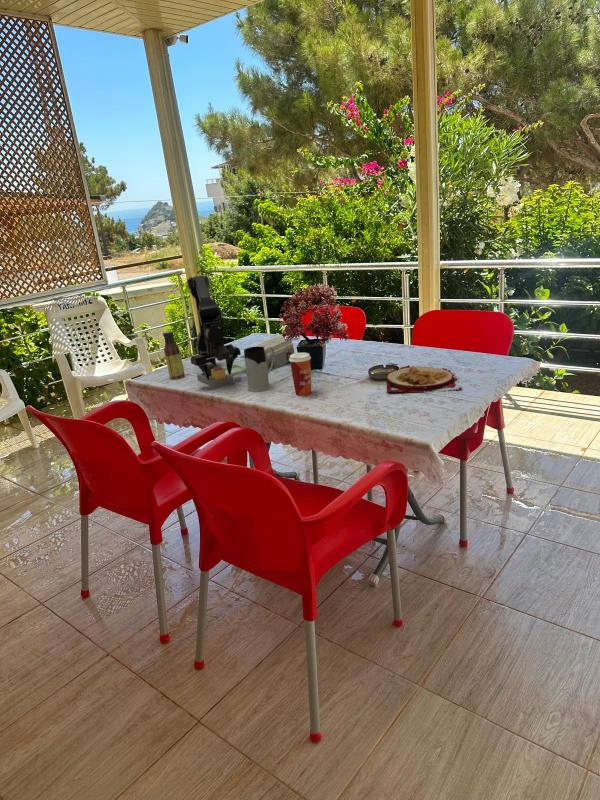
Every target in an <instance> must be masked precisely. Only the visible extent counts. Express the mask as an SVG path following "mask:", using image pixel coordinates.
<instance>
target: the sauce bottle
mask: <svg viewBox="0 0 600 800" xmlns="http://www.w3.org/2000/svg"><path fill="white" fill-rule="evenodd" d="M162 336H163V338H164V343H165V344H164V348H163V351H164V357H165V361H166V365H167V366H166V367H167V370H168V375H169V379H170V380H175V381H176V380H181V379H183V378H185V369H184V364H183V360H182V355H181V350H180V349H179V347H178V345H177V343H176V341H175V337H174V331H172V330H166V331H163V332H162Z"/></svg>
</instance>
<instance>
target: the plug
mask: <svg viewBox="0 0 600 800" xmlns="http://www.w3.org/2000/svg"><path fill="white" fill-rule="evenodd" d="M211 374H212V379H213V380H215V381H217V380H221V379H224V378H226V374H225V369H224V368H223V367H222V366H221V365H219V366H216V367H213V369H211Z"/></svg>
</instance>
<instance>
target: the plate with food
mask: <svg viewBox="0 0 600 800" xmlns="http://www.w3.org/2000/svg"><path fill="white" fill-rule="evenodd" d="M388 365H391V366H393V367H397V366H398V365H399V364H398V363H388ZM397 369H398V371H397V370H396V369H395V370H393V371H391V372H389V373H388V375H387V376H386V375H385V379H386V392H389V393H404V394H405V393H421V392H422V393H423V394H424V393H426V392H434V391H438V390H440V389H441V390H440V391H439V393H441V392H442V389H449V388H450V389H449V390H444V392H449V391H459V390H463V387H462V386H459V387H458V388H456V386H457V384H456V383H458V384H459V383H460V381H459V380H458V378H455V376H456V373H455V372H454V373H453V372H452V371H451V370H450V369H447V368H444V367H443V368H440V367H432V366H414V365H412V366H410V365H406V366H399V367H398V368H397ZM453 371H454V370H453ZM392 387H393V388H395V389H392Z"/></svg>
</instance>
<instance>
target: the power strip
mask: <svg viewBox="0 0 600 800" xmlns="http://www.w3.org/2000/svg"><path fill="white" fill-rule="evenodd" d="M196 376H197V377H196V378H197V381H198V382H200V383H202V384H205V385H206V386H209V387H211V388H213V389H215V390H216V389H220V388H223V387H226V386H230V385H233V384H235V381H234V376H229V375H226V378H224V379H221V380H217V381H215V380H213V379H212V376H209V380H207V378H206V377H205V376H204V374H203V372H201V373H197V374H196Z"/></svg>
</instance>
